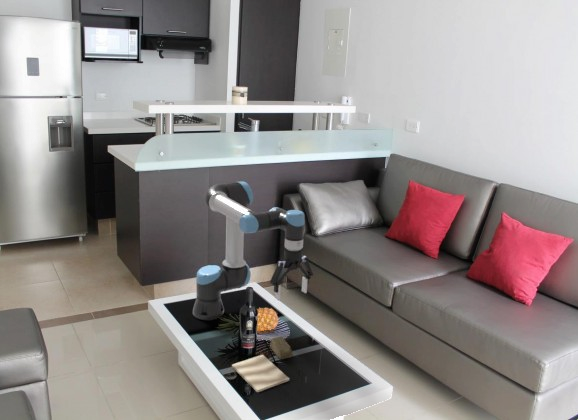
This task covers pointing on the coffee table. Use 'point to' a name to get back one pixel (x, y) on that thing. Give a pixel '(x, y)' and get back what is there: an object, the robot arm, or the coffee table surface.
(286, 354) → the stone block
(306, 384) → the coffee table surface
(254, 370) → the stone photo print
